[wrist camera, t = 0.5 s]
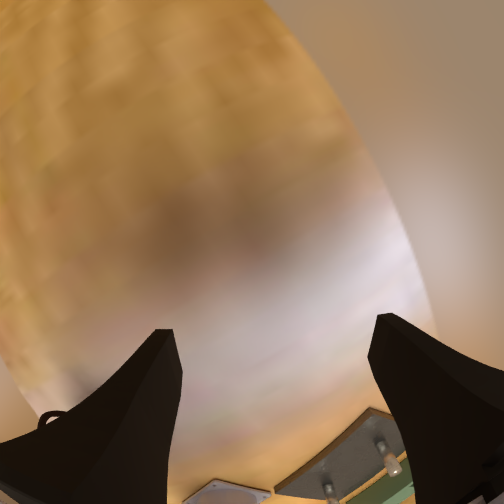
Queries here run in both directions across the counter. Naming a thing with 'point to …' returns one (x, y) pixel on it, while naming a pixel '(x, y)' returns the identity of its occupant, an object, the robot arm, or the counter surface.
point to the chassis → (349, 460)
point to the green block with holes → (388, 488)
